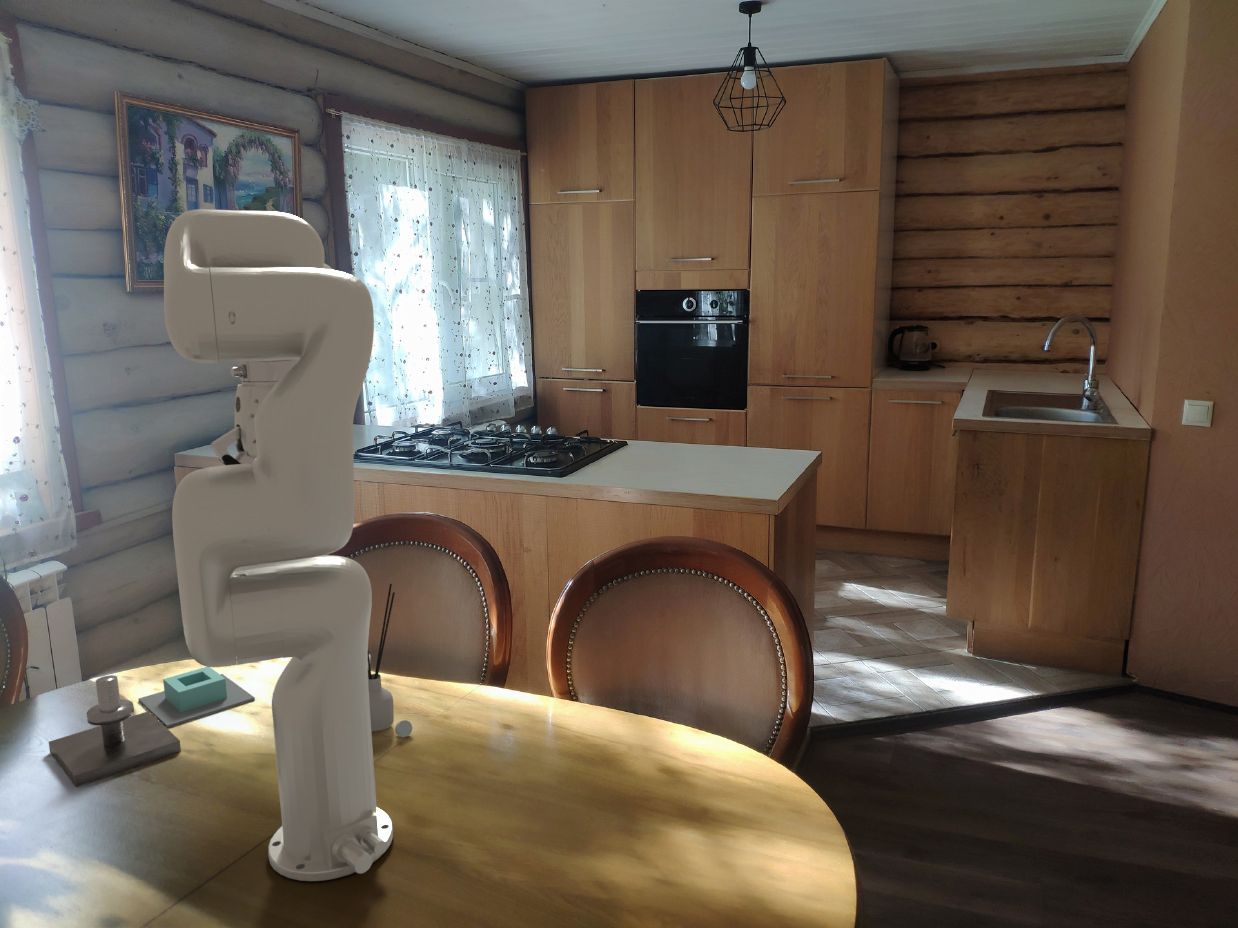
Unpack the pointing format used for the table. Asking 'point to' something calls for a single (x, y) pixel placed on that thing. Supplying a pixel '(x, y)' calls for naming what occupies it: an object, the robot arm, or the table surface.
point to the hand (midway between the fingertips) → (280, 494)
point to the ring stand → (112, 739)
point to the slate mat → (174, 717)
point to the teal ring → (195, 688)
